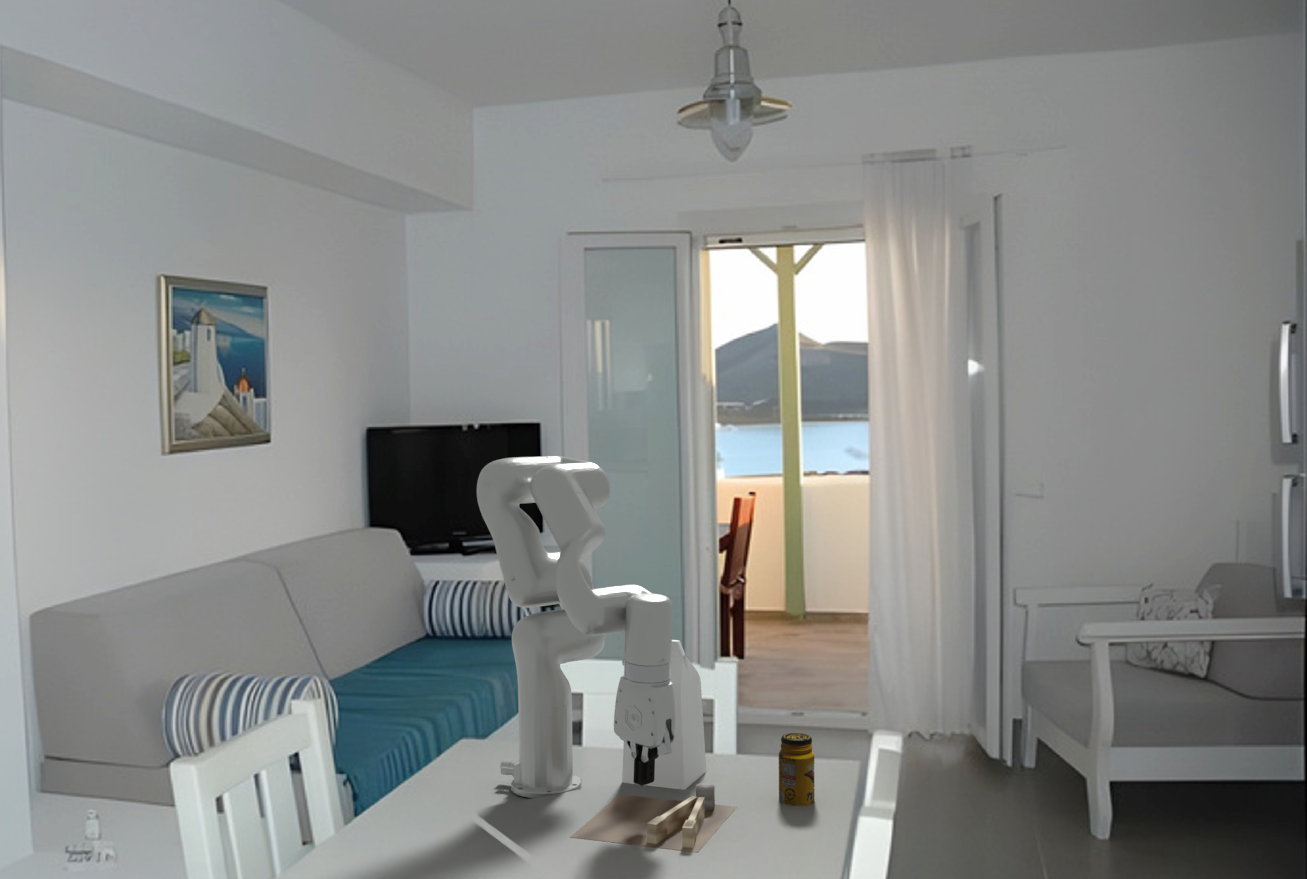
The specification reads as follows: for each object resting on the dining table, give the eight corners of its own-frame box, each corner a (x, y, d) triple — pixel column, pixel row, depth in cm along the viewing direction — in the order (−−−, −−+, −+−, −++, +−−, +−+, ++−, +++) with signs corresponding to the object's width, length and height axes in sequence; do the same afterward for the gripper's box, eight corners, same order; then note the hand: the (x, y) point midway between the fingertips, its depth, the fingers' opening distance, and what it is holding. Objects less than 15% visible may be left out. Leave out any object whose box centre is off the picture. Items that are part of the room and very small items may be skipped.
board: (569, 843, 194) (569, 837, 194) (620, 800, 215) (620, 794, 215) (697, 858, 187) (697, 852, 187) (737, 812, 208) (737, 806, 208)
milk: (621, 788, 222) (620, 643, 221) (646, 770, 232) (644, 632, 232) (684, 795, 217) (683, 648, 216) (706, 776, 228) (705, 636, 227)
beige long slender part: (697, 803, 209) (697, 782, 209) (715, 804, 209) (715, 783, 209) (677, 846, 189) (677, 823, 189) (697, 848, 189) (697, 824, 189)
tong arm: (690, 813, 204) (689, 795, 204) (698, 815, 204) (698, 797, 204) (646, 842, 191) (646, 823, 191) (656, 844, 191) (655, 824, 191)
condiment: (825, 807, 210) (824, 737, 210) (786, 817, 205) (786, 745, 205) (797, 796, 216) (797, 728, 216) (759, 805, 212) (758, 736, 211)
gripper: (598, 665, 202) (595, 775, 203) (664, 685, 191) (660, 801, 193) (631, 658, 207) (628, 765, 209) (697, 677, 197) (693, 790, 198)
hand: (643, 782), depth 201 cm, fingers closed
